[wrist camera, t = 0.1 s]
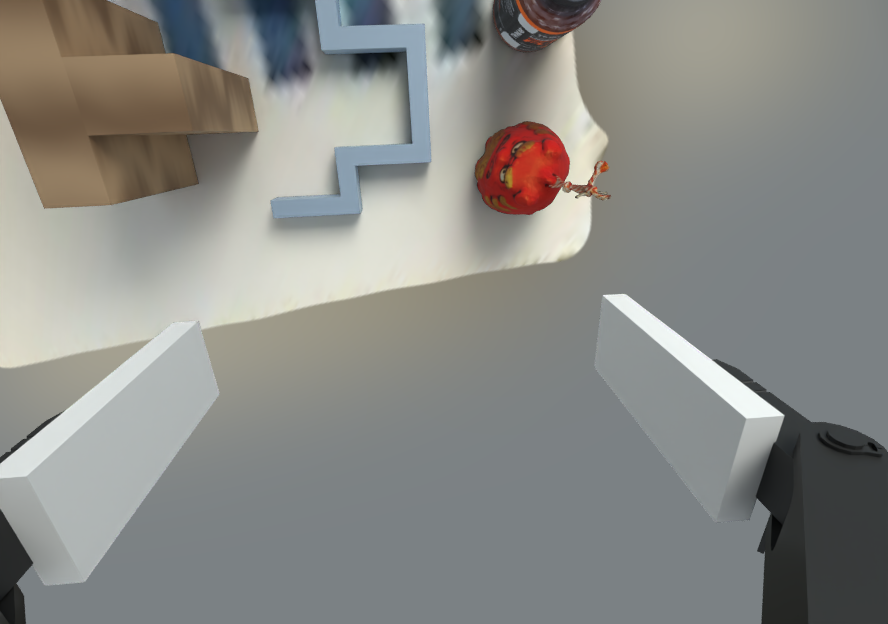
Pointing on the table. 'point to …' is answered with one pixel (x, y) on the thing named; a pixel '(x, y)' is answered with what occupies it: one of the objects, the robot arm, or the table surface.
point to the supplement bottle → (539, 20)
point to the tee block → (107, 101)
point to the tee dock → (351, 157)
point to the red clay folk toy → (527, 170)
